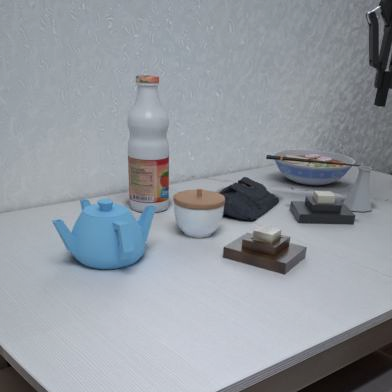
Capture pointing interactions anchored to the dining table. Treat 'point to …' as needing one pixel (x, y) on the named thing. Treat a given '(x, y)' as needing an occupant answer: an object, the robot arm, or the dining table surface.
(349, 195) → the flask
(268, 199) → the dark slate chunk
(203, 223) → the trinket box
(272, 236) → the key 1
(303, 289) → the dining table surface
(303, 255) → the block
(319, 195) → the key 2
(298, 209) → the block
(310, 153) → the ramen bowl
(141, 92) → the fruit juice
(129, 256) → the teapot
